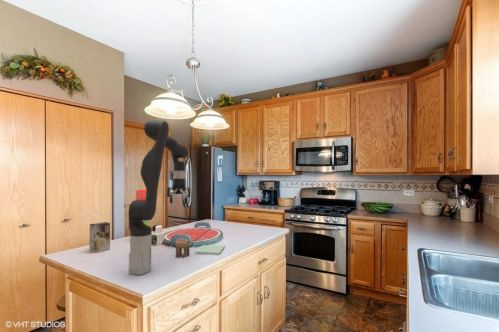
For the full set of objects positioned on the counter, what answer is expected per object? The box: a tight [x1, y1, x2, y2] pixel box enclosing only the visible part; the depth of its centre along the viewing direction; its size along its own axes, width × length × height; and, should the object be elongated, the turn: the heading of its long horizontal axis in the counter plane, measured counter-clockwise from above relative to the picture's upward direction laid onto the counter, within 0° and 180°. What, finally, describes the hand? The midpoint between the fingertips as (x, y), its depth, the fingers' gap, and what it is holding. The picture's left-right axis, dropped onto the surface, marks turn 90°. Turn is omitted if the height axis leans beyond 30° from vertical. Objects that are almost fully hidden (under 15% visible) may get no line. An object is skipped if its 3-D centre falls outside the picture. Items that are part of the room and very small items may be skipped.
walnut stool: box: [174, 239, 191, 258], centre depth 140 cm, size 6×6×8 cm
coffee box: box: [88, 221, 111, 254], centre depth 150 cm, size 9×6×16 cm
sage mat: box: [194, 244, 226, 256], centre depth 149 cm, size 14×14×1 cm
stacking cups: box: [135, 189, 149, 226], centre depth 173 cm, size 10×10×35 cm
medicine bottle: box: [151, 224, 166, 247], centre depth 164 cm, size 7×7×12 cm
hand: (178, 203), depth 159 cm, fingers open, 8 cm apart
